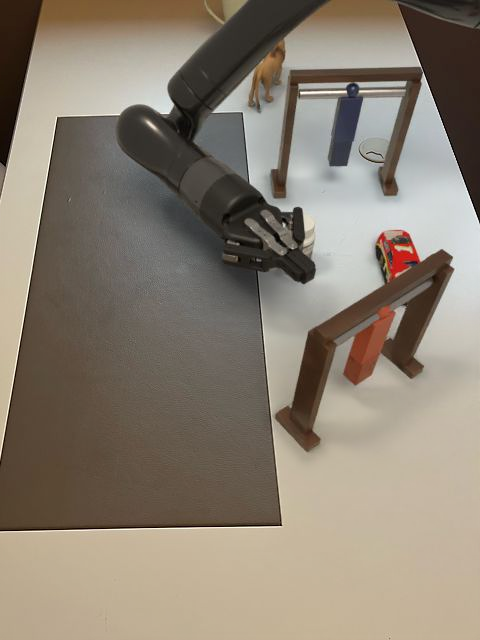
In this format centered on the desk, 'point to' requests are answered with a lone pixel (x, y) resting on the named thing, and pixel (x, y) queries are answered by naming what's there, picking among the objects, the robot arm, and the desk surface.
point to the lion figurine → (268, 73)
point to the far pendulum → (347, 114)
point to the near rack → (397, 349)
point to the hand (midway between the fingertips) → (310, 276)
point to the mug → (227, 9)
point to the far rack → (347, 76)
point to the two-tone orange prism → (372, 337)
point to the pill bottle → (307, 235)
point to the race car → (395, 253)
